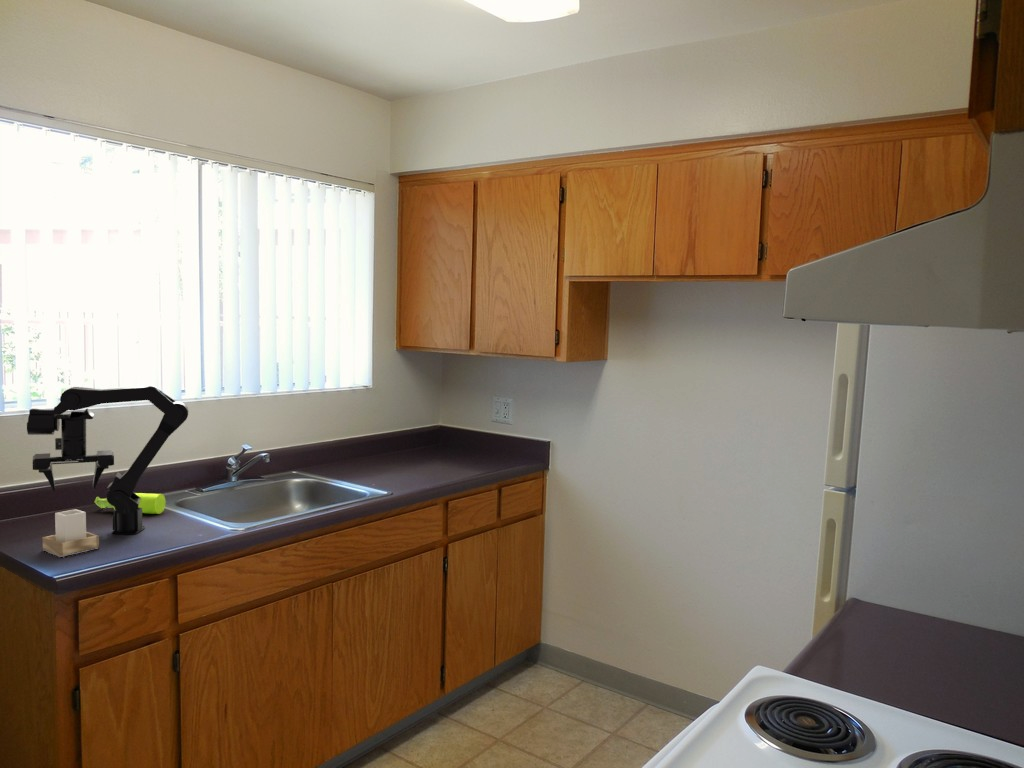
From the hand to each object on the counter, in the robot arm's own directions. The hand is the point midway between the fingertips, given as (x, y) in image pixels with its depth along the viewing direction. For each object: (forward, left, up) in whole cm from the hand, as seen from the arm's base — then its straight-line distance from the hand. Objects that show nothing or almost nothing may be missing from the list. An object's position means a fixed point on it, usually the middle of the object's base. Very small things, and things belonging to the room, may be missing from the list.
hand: (74, 490), depth 204 cm
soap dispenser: (-15, -22, -9) cm, 28 cm away
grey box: (-6, +15, -11) cm, 20 cm away
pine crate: (-6, +15, -12) cm, 20 cm away
